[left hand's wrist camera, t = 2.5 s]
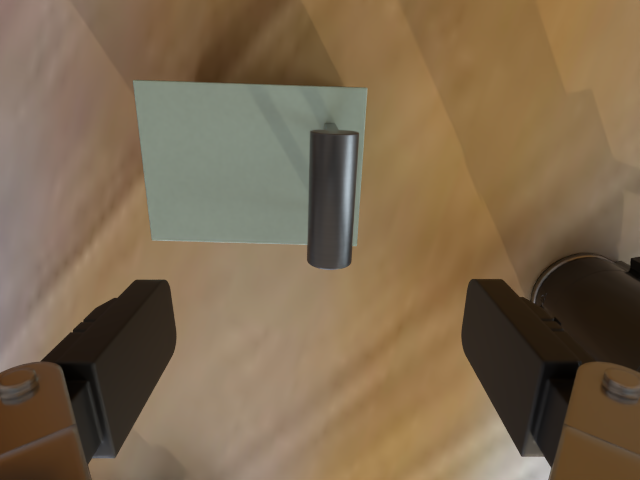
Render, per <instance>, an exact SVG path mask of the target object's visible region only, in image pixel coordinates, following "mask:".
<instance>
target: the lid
mask: <svg viewBox="0 0 640 480" xmlns="http://www.w3.org/2000/svg"><path fill="white" fill-rule="evenodd" d="M133 85H134V94H135V102H136V111H137V119H138V128H139V136H140V144H141V153H142V161H143V170H144V178H145V187H146V195H147V203H148V212H149V220H150V229H151V237H152V240H161V241H197V242H233V243H268V244H304V245H307V261H308V263H309V264H310V265H312V266H314V267H316V268H320V269H327V270H335V269H342V268H345V267H347V266H349V265H350V264H351V258H352V246H357V235H358V221H359V206H360V191H361V176H362V161H363V146H364V131H365V116H366V101H367V88H361V87H331V86H301V85H272V84H242V83H212V82H182V81H152V80H133Z"/></svg>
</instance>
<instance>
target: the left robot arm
mask: <svg viewBox="0 0 640 480" xmlns="http://www.w3.org/2000/svg"><path fill="white" fill-rule="evenodd" d="M461 337H462V346H463V350H464V353H465V355H466V357H467V359H468V360H469V362H470V364H471V366H472V368H473V369H474V371H475V373H476V375H477V377H478V379H479V380H480V382H481V384H482V386H483V388H484V389H485V391H486V393H487V395H488V397H489V398H490V400H491V402H492V404H493V406H494V407H495V409H496V411H497V413H498V415H499V417H500V418H501V420H502V422H503V424H504V426H505V427H506V429H507V431H508V433H509V435H510V436H511V438H512V440H513V442H514V444H515V445H516V447H517V449H518V451H519V453H520V455H521V456H522V457H545V458H546V460H547V461H548V463H549V465H550V466H551V472H550V475H549V479H548V480H640V257H635V258H631V265H628V264H626V263H624V262H622V261H617V262H612V261H611V260H609V259H607V258H605V257H603V256H600V255H597V254H591V253H582V254H575V255H571V256H568V257H566V258H563V259H561V260H559V261H557V262H556V263H554V264H553V265H551V266H550V267H549V268H548V269H546V270H545V271H544V272H543V274H542V275H541V276H540V277H539V279H538V280H537V282H536V284H535V286H534V288H533V291H532V294H531V301H529V300H527V299H525V298H524V297H519V296H518V295H517V294H516V293H515V292H514V291H513V290H512V289H511V288H510V287H509V286H508V285H507V284H506V283H505V282H504V281H503V280H502V279H472V280H471V281H470V282H469V285H468V289H467V296H466V303H465V310H464V317H463V324H462V333H461ZM175 345H176V326H175V319H174V312H173V305H172V298H171V291H170V286H169V284H168V282H167V281H166V280H135V281H134V282H133V283H132V284H131V285H130V286H129V287H128V288H127V289H126V290H125V291H124V292H123V293H122V294H121V295H120V296H119V297H118V298H113V299H111V300H110V301H108V302H106V303H104V304H102V305H100V306H99V307H97V308H95V309H94V310H93V311H92V312H91V313H90V314H89V315H88V316H87V317H86V318H85V319H84V321H83V322H81V323H80V324H79V325H78V326H77V327H76V328H75V329H74V330H73V332H70V333H69V334H68V335H67V336H66V337H65V338H64V339H63V340H62V341H61V342H60V343H59V344H58V345H57V346H56V347H55V348H54V349H53V350H52V351H51V352H50V353H49V354H48V355H47V356H46V357H45V358H43V359H42V360H41V361H40V362H32V363H27V364H23V365H19V366H16V367H13V368H10V369H8V370H5V371H3V372H1V373H0V480H92V479H91V475H90V472H89V468H88V464H89V462H90V460H91V459H92V458H115V457H116V455H117V454H118V452H119V450H120V448H121V447H122V445H123V443H124V441H125V439H126V438H127V436H128V434H129V432H130V430H131V429H132V427H133V425H134V423H135V422H136V420H137V418H138V416H139V414H140V413H141V411H142V409H143V407H144V405H145V404H146V402H147V400H148V398H149V396H150V395H151V393H152V391H153V389H154V388H155V386H156V384H157V382H158V380H159V379H160V377H161V375H162V373H163V371H164V370H165V368H166V366H167V364H168V363H169V361H170V359H171V357H172V355H173V353H174V350H175Z"/></svg>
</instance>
